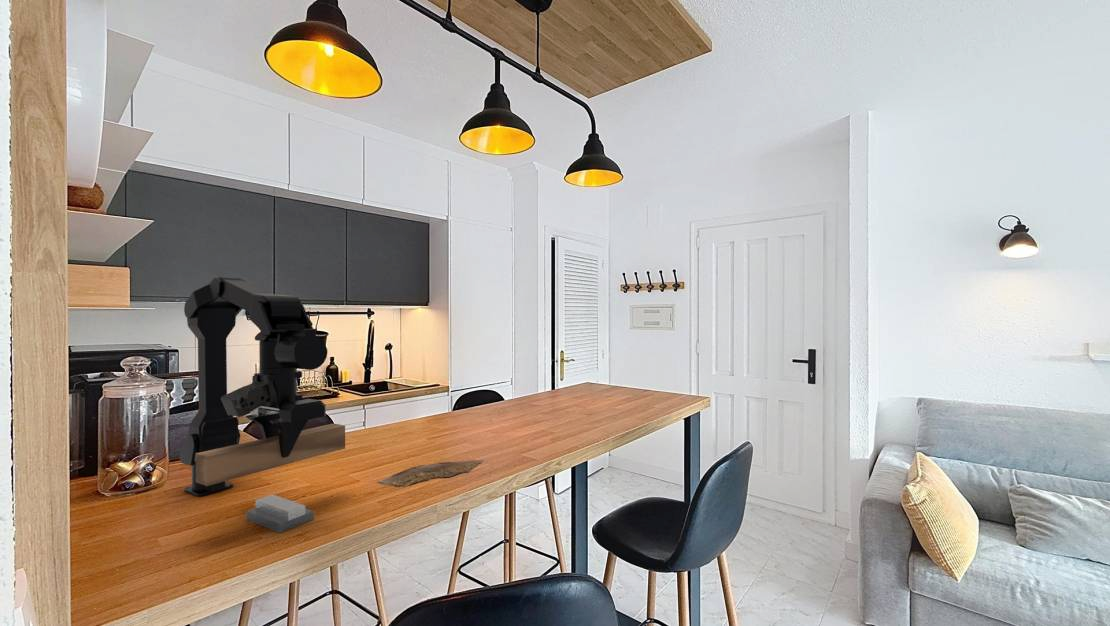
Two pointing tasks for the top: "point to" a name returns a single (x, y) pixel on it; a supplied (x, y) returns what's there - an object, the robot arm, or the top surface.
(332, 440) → the walnut bar
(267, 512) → the grey flat stepped block
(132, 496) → the top surface
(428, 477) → the wooden fragment
